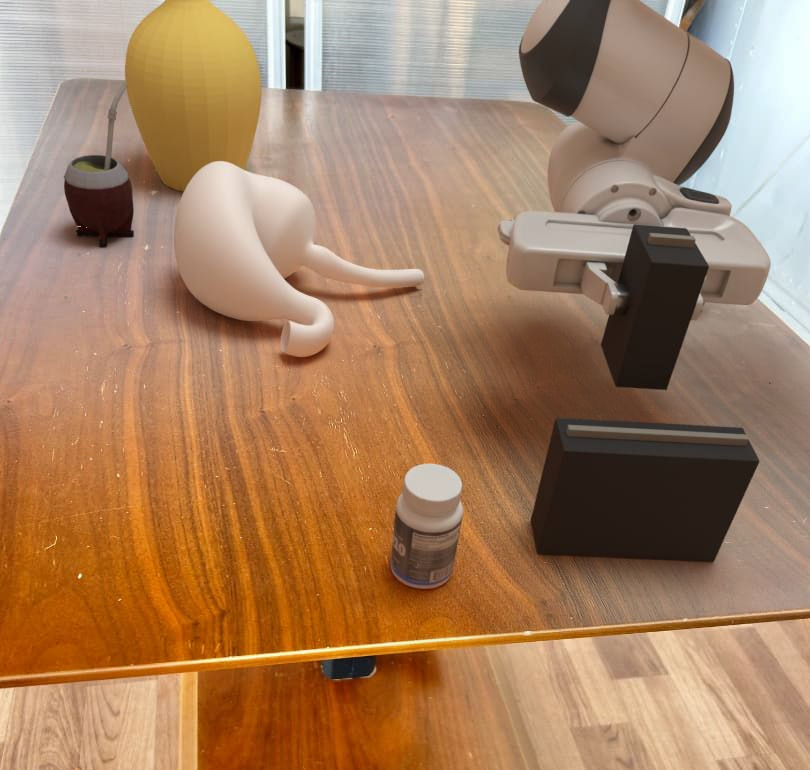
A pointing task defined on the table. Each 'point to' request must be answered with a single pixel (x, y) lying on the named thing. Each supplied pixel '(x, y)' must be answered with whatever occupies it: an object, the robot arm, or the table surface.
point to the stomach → (262, 254)
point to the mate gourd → (100, 191)
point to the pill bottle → (427, 526)
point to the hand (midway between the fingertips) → (655, 308)
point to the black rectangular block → (654, 306)
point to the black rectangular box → (640, 489)
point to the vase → (192, 89)
